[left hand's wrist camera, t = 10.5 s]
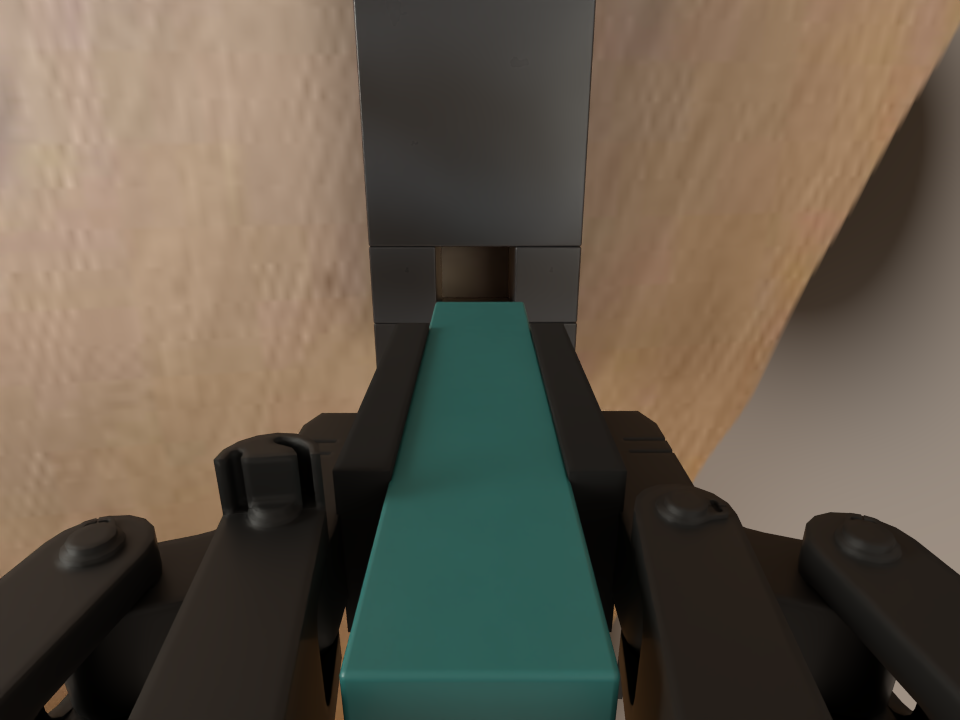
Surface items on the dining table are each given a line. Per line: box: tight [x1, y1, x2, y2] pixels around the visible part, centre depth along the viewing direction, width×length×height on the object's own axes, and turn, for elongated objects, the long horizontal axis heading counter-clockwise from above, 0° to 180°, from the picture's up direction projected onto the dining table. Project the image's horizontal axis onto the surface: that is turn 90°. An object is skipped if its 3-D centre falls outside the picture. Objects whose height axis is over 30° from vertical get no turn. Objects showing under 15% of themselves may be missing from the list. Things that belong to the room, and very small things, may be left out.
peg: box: [339, 302, 620, 720], centre depth 11 cm, size 2×2×12 cm
